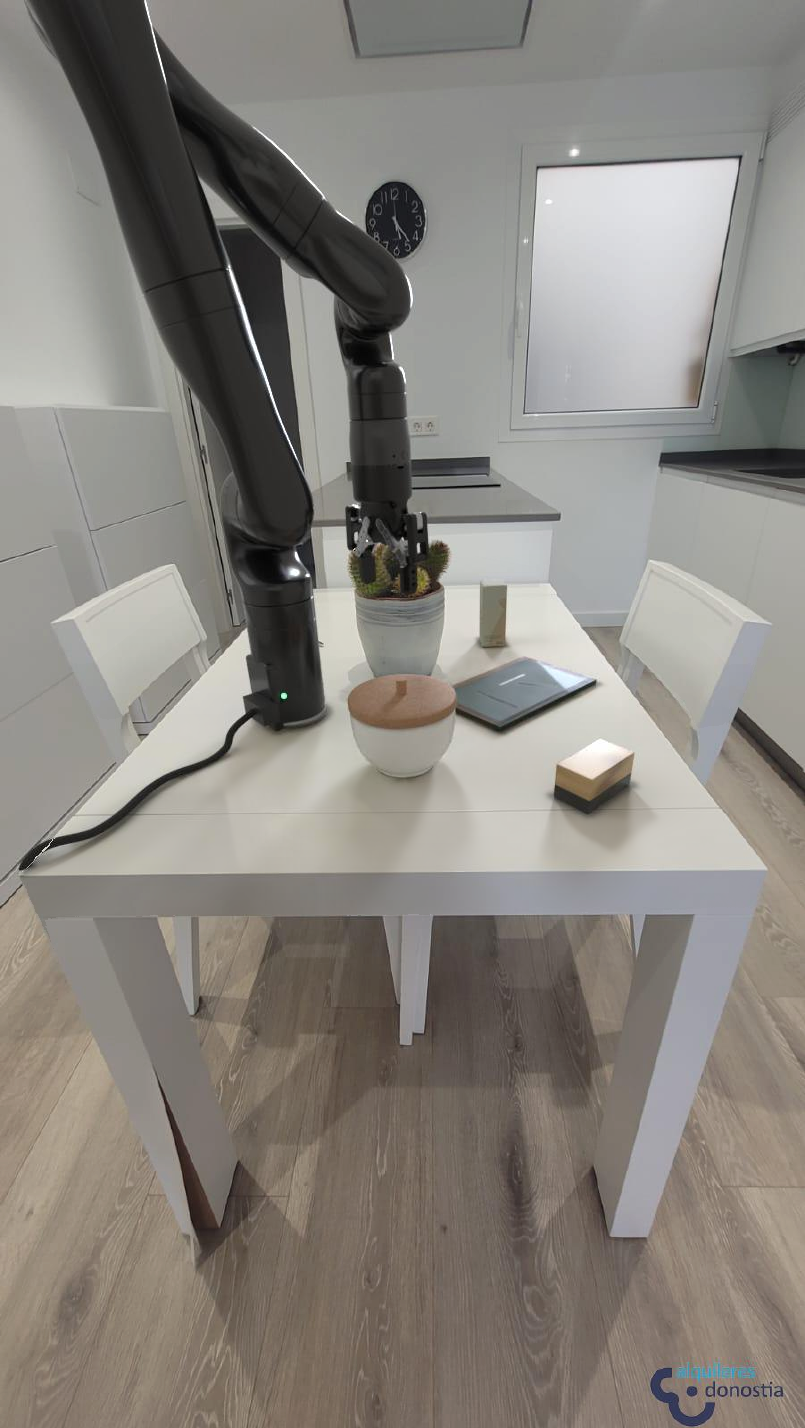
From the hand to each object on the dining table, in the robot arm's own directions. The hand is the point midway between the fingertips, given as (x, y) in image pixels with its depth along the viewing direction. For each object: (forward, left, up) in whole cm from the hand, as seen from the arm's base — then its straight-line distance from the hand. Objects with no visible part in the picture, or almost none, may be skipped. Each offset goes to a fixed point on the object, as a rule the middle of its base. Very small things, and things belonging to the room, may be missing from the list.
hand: (388, 588), depth 81 cm
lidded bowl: (-11, -15, -17) cm, 25 cm away
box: (+28, +6, -17) cm, 34 cm away
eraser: (0, -34, -17) cm, 38 cm away
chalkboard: (+14, -11, -17) cm, 25 cm away
